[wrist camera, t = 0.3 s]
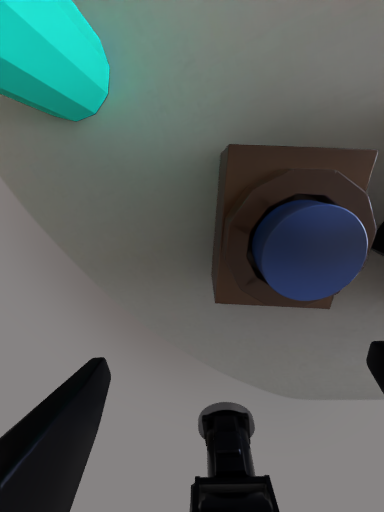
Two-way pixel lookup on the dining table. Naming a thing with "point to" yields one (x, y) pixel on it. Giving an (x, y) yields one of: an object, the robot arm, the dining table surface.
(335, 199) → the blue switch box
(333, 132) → the dining table surface
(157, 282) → the dining table surface
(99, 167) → the dining table surface
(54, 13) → the candle
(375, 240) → the switch box
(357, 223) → the blue button
